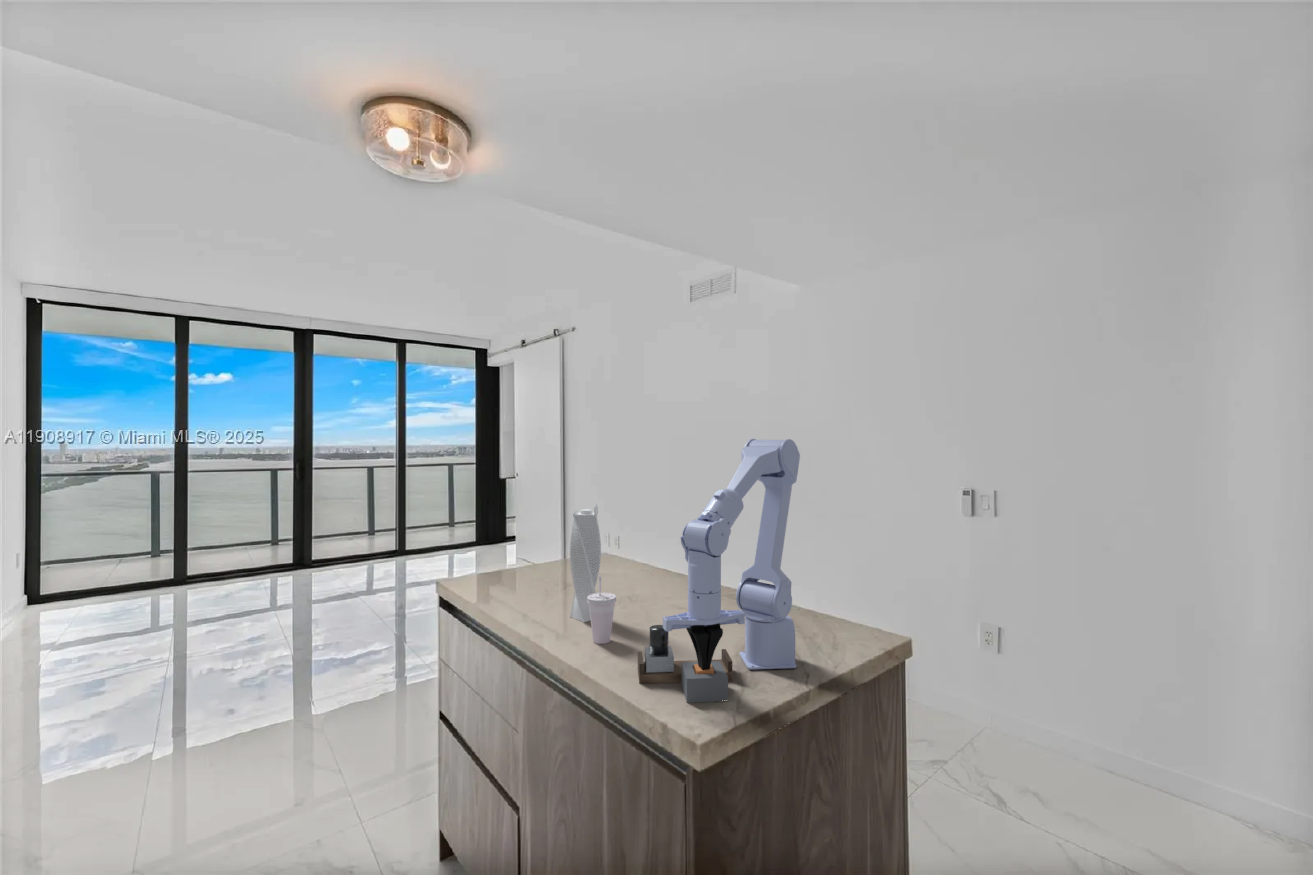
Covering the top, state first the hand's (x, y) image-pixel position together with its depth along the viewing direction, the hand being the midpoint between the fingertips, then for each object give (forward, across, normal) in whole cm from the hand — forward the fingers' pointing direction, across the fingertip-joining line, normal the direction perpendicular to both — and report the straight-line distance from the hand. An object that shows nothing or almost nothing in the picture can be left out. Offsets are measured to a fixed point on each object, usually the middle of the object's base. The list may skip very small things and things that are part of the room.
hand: (704, 667), depth 99 cm
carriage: (+3, +5, -9) cm, 11 cm away
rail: (+4, +1, -8) cm, 9 cm away
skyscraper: (+4, +13, -46) cm, 48 cm away
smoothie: (+4, +12, -30) cm, 32 cm away
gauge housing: (+4, 0, 0) cm, 4 cm away
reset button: (+3, 0, 0) cm, 3 cm away
